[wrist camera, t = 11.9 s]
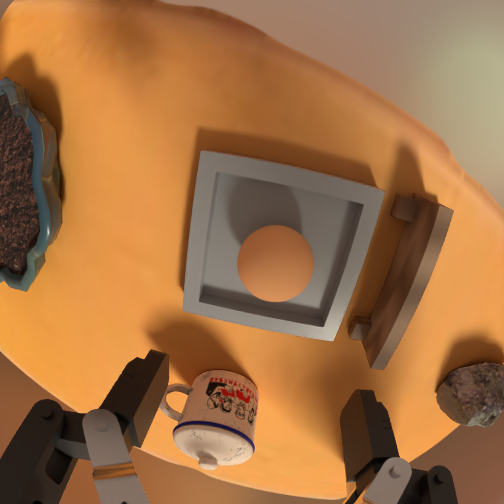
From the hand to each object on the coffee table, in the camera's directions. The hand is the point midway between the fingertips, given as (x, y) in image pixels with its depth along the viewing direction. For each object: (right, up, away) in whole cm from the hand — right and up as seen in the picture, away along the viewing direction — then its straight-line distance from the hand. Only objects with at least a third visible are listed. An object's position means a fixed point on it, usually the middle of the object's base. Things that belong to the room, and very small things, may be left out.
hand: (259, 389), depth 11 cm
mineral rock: (+33, -13, +19) cm, 40 cm away
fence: (+14, +4, +15) cm, 20 cm away
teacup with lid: (-5, -11, +23) cm, 26 cm away
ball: (+2, +5, +12) cm, 13 cm away
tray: (+2, +6, +15) cm, 16 cm away
